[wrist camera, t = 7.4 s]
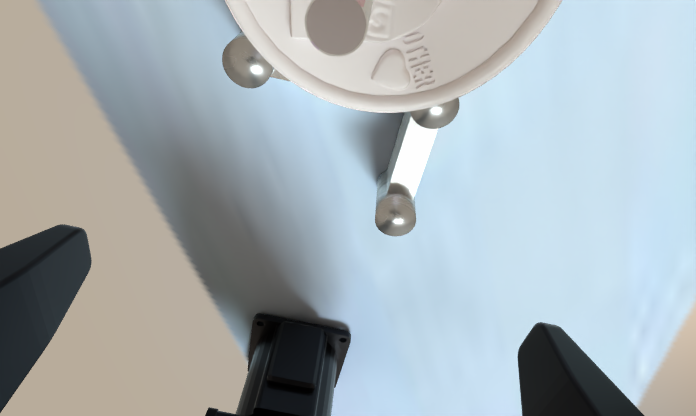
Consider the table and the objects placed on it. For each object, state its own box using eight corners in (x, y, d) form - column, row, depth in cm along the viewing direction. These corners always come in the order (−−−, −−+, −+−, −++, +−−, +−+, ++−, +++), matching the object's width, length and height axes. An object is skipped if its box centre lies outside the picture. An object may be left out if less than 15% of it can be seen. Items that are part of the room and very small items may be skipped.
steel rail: (407, 201, 22) (409, 239, 20) (238, 165, 22) (218, 199, 19) (456, 62, 18) (466, 88, 16) (246, 13, 18) (223, 33, 15)
